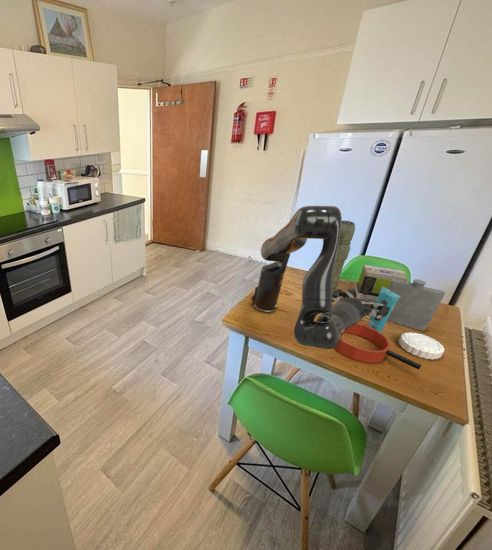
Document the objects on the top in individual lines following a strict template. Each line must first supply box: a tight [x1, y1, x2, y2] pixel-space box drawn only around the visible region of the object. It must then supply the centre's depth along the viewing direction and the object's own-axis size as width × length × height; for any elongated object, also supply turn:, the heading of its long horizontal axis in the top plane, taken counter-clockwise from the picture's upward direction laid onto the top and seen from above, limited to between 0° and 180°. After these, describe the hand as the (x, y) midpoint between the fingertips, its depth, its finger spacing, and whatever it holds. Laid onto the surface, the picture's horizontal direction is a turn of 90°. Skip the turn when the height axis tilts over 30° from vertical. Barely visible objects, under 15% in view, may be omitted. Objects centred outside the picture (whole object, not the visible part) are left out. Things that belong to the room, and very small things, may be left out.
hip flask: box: [387, 278, 446, 331], centre depth 120 cm, size 16×4×20 cm, turn 45°
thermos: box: [332, 220, 356, 294], centre depth 143 cm, size 9×12×35 cm
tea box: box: [354, 264, 409, 303], centre depth 138 cm, size 15×10×15 cm, turn 59°
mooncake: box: [398, 331, 446, 360], centre depth 110 cm, size 12×12×4 cm
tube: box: [366, 286, 400, 334], centre depth 116 cm, size 7×5×19 cm, turn 12°
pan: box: [334, 322, 422, 370], centre depth 108 cm, size 26×17×5 cm, turn 34°
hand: (368, 296), depth 96 cm, fingers open, 8 cm apart
